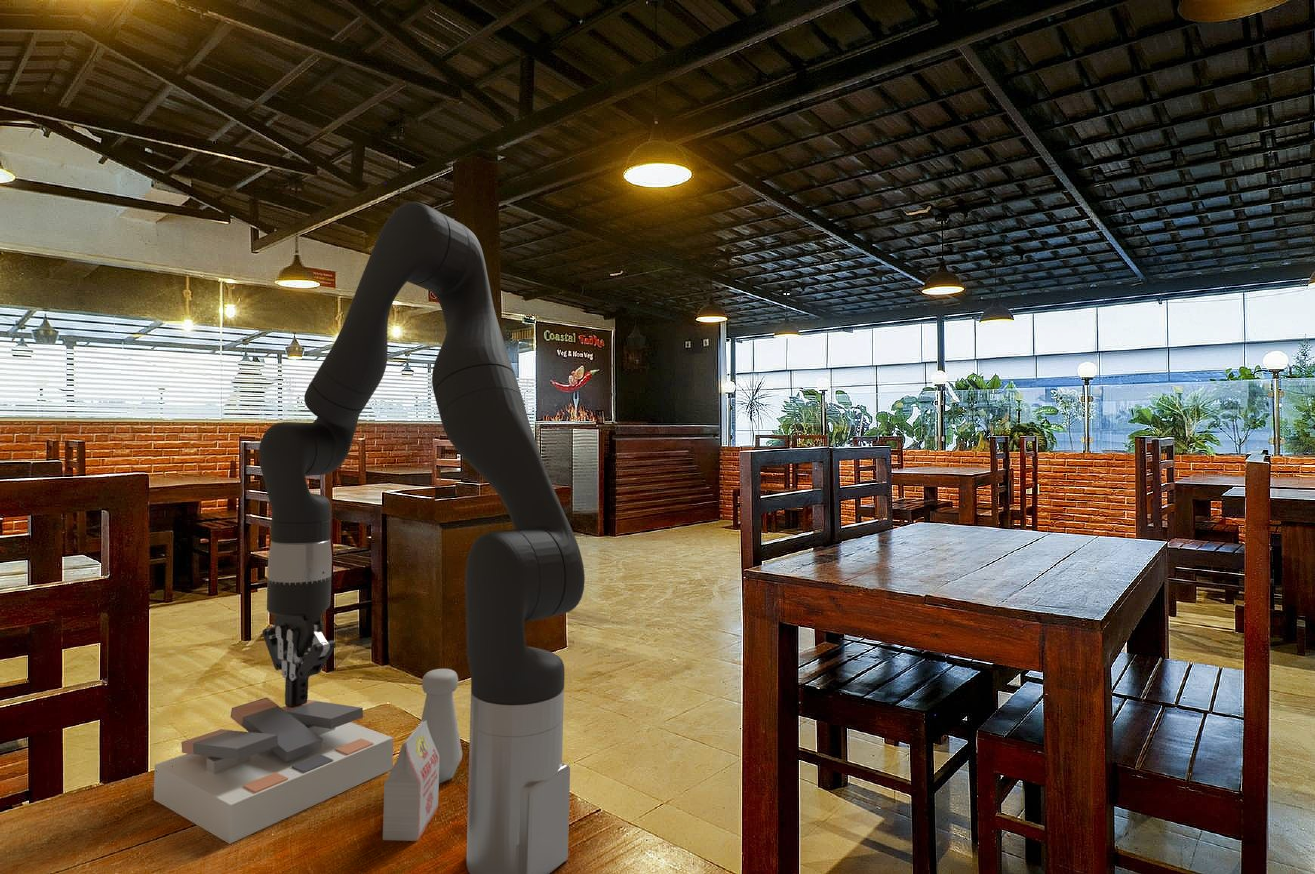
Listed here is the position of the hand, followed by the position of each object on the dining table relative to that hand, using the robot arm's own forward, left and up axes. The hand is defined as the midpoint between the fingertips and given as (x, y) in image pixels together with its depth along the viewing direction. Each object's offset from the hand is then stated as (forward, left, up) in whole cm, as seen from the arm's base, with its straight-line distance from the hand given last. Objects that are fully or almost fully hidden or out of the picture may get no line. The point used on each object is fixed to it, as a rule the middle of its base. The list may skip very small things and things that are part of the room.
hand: (295, 705), depth 94 cm
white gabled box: (-26, +3, -7) cm, 27 cm away
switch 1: (-5, +11, 0) cm, 12 cm away
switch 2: (-5, +6, 0) cm, 7 cm away
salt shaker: (-20, -6, -7) cm, 22 cm away
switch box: (-6, +6, -6) cm, 10 cm away
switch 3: (-5, 0, 0) cm, 5 cm away
